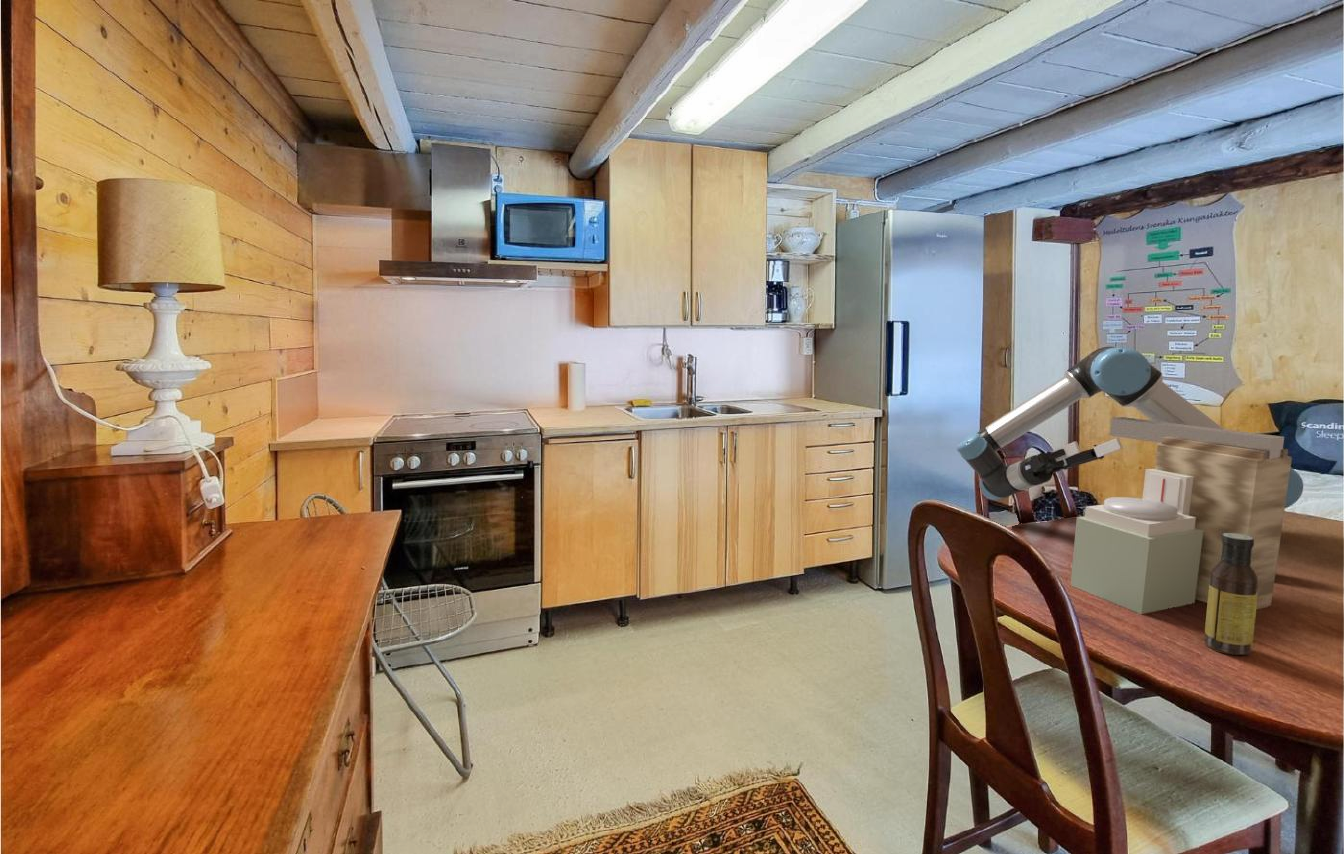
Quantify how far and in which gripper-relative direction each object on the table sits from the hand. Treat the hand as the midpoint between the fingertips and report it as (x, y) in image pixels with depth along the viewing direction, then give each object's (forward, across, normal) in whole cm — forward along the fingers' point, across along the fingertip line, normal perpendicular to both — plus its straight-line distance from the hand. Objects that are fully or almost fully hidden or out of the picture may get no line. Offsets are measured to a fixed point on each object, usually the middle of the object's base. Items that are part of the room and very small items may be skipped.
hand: (1099, 444), depth 153 cm
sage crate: (+5, +15, -34) cm, 37 cm away
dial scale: (+12, +15, -21) cm, 28 cm away
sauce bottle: (+23, +22, -45) cm, 55 cm away
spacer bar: (+18, 0, -7) cm, 19 cm away
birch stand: (+8, 0, -36) cm, 37 cm away
